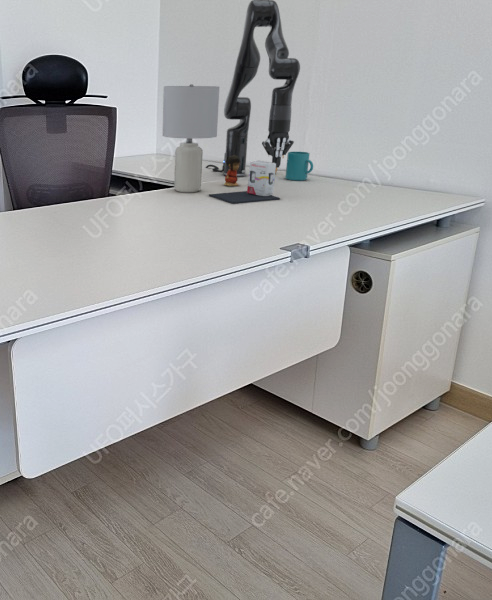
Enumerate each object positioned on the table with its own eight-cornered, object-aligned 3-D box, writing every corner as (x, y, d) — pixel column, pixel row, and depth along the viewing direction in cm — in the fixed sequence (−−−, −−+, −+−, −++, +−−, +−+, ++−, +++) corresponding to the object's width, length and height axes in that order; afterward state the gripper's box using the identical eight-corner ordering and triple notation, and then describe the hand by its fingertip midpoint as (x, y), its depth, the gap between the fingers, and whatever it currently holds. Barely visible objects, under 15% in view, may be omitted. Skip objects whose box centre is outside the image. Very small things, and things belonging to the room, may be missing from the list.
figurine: (221, 186, 240) (223, 155, 236) (225, 183, 245) (226, 154, 240) (237, 187, 238) (239, 156, 233) (240, 184, 242) (242, 155, 238)
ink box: (246, 193, 221) (248, 161, 217) (255, 192, 224) (257, 160, 220) (264, 197, 215) (267, 164, 210) (273, 195, 218) (276, 162, 213)
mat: (209, 195, 220) (209, 194, 220) (254, 192, 227) (254, 190, 227) (232, 203, 206) (232, 202, 206) (279, 199, 214) (280, 197, 213)
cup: (305, 182, 248) (308, 155, 244) (281, 179, 256) (283, 152, 252) (317, 180, 254) (320, 153, 250) (292, 176, 262) (295, 150, 258)
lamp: (191, 184, 243) (195, 83, 229) (224, 192, 227) (231, 84, 213) (151, 189, 233) (152, 83, 219) (183, 197, 217) (187, 84, 203)
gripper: (288, 117, 218) (283, 165, 224) (258, 118, 213) (254, 167, 219) (301, 118, 211) (296, 167, 217) (271, 119, 206) (267, 169, 212)
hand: (275, 167), depth 218 cm, fingers closed
